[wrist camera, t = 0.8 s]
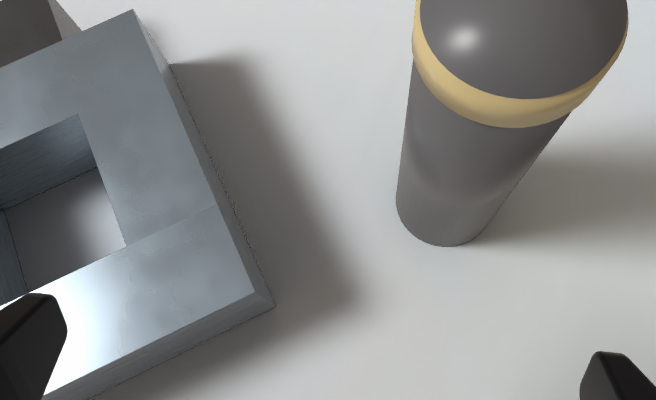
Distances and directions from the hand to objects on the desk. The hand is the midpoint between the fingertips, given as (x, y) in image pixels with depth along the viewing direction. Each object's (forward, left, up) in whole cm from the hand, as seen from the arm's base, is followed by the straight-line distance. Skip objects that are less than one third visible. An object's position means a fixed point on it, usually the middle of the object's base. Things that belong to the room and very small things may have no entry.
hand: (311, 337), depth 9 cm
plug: (+5, -7, -15) cm, 17 cm away
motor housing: (+13, +9, -15) cm, 22 cm away
